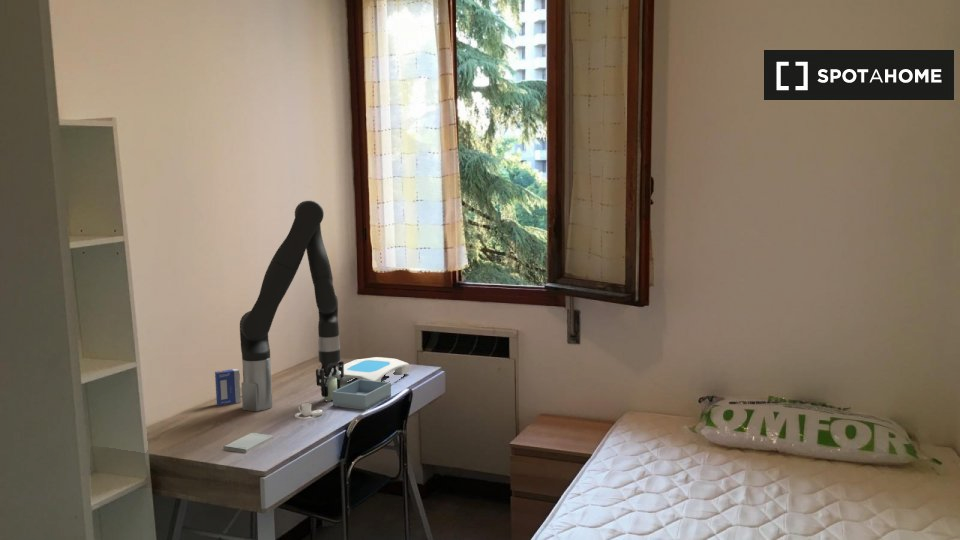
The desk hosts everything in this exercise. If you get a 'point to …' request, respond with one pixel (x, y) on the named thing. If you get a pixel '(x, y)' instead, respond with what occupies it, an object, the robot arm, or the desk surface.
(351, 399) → the bin
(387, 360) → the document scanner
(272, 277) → the robot arm
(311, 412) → the teacup and saucer
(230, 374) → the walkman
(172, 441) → the desk surface
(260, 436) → the hard drive
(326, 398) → the mint green capsule
